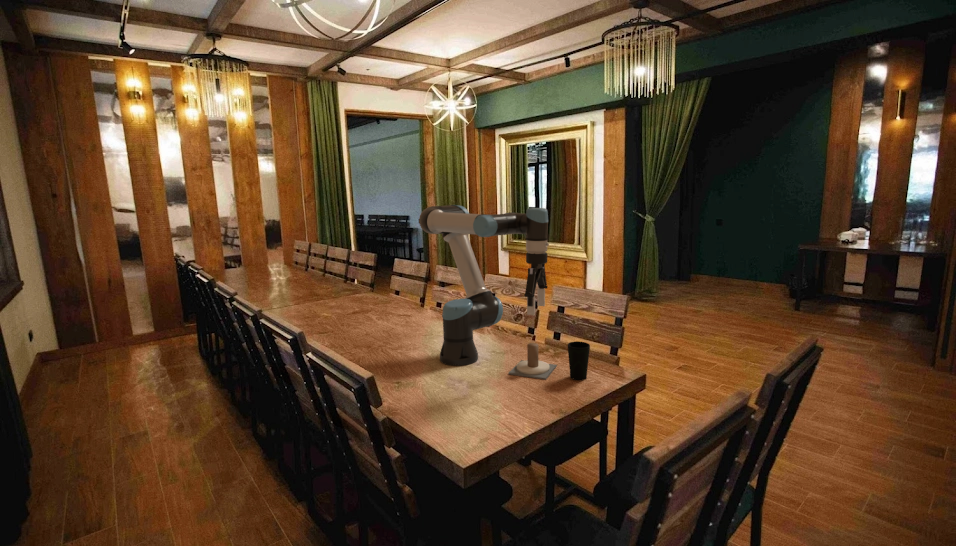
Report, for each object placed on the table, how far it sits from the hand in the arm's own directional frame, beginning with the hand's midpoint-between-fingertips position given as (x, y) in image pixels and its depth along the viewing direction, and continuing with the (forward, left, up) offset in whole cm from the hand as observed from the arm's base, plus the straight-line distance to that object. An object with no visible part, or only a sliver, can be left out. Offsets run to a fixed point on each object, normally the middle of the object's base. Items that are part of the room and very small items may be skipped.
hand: (536, 310), depth 174 cm
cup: (+16, -2, -23) cm, 28 cm away
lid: (-1, -1, -22) cm, 22 cm away
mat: (-1, -1, -23) cm, 23 cm away
